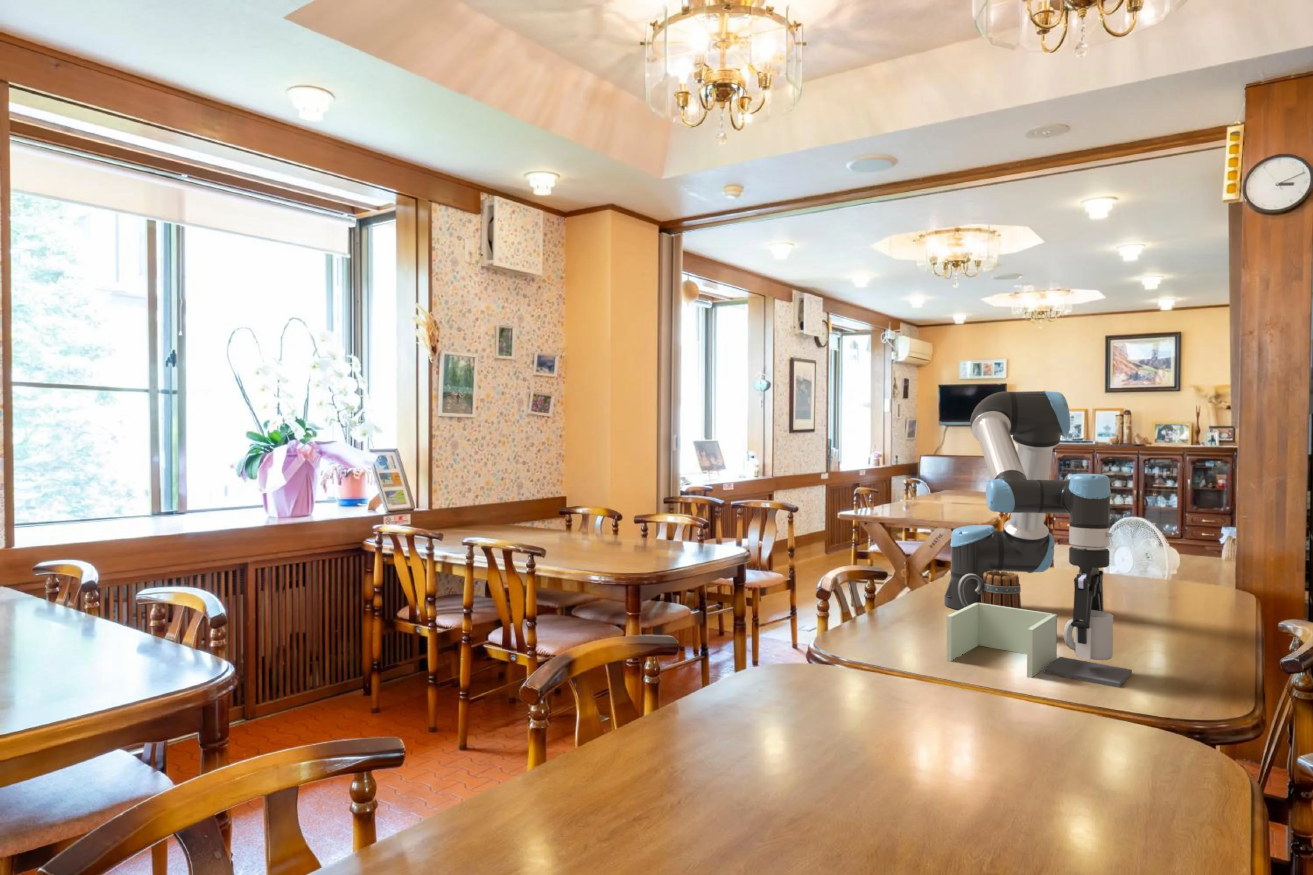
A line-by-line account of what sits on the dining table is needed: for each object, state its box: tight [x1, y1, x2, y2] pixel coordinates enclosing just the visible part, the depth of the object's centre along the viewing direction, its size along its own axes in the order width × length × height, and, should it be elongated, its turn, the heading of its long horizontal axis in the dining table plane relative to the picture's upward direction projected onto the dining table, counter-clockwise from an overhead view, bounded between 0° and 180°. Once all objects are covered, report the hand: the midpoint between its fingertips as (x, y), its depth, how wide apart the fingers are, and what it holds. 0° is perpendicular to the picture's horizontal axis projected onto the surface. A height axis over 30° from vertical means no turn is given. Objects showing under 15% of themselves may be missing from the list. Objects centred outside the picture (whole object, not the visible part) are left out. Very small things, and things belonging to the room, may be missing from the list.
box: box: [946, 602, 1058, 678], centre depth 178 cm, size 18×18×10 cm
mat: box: [1043, 656, 1133, 688], centre depth 168 cm, size 14×12×1 cm
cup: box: [1063, 610, 1114, 661], centre depth 167 cm, size 7×10×9 cm
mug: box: [958, 571, 1022, 609], centre depth 201 cm, size 16×11×15 cm
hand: (1088, 653), depth 168 cm, fingers closed on cup, 8 cm apart
